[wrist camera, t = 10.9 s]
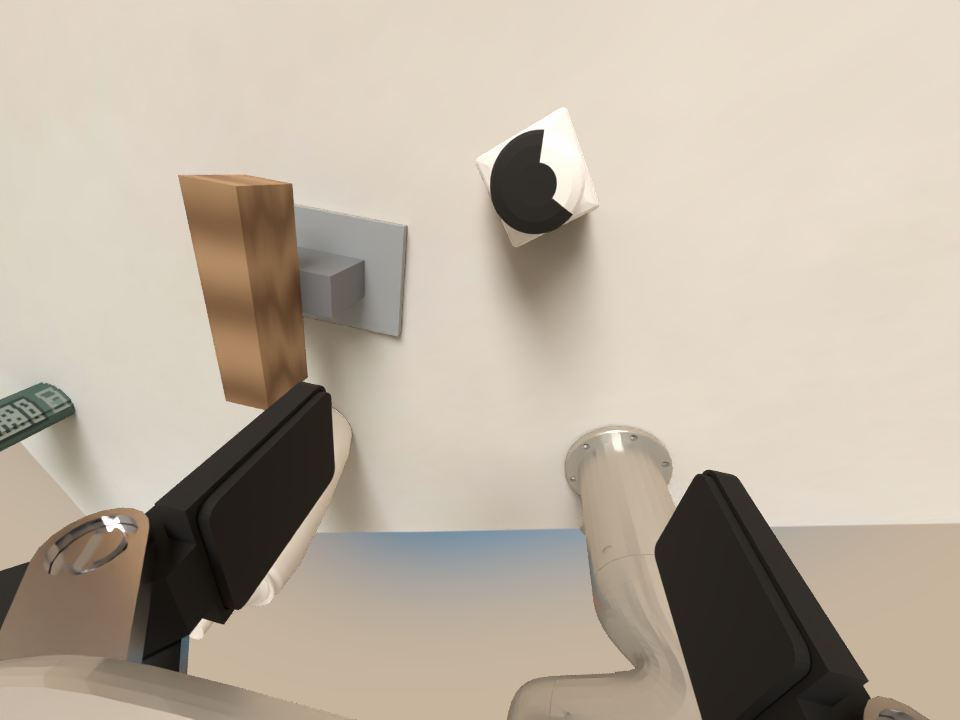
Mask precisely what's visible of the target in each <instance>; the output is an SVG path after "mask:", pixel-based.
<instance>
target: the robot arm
mask: <svg viewBox="0 0 960 720" xmlns="http://www.w3.org/2000/svg"><path fill="white" fill-rule="evenodd" d="M565 469H566V477H567V480H568V482H569V484H570V486H571V487H572V489H573V490H574V491H575V492H576V493H577V494H578V495H579V496H581V500H582V508H583V516H584V519H583V521H582V523H581V526H580V530H581V531H582V533H583V534H585V535H586V542H587V549H588V558H589V567H590V575H591V583H592V592H593V601H594V605H595V610H596V613H597V616H598V619H599V621H600V623H601V624H602V627H603V629H604V630H605V632H606V634H607V635H608V637H609V638H610V639H611V641H612V642H613V643H614V644H615V646H616V647H617V648H618V649H619V650H620V652H622V654H623V655H624V656H625V657H626V658H627V659H628V660H629V661H630V662H631V663H632V665H633V666H634V667H635V669H633V670H630V671H622V672H615V673H611V674H590V675H567V676H549V677H542V678H537V679H533V680H531V681H529V682H527V683H525V684H524V685H523V686H521V687H520V689H519V690H518V691H517V692H516V694H515V696H514V698H513V700H512V702H511V705H510V709H509V712H508V718H507V720H929V719H928V718H926V717H925V716H923V715H922V714H920V713H919V712H917V711H915V710H914V709H912V708H911V707H909V706H907V705H905V704H903V703H901V702H898V701H896V700H894V699H892V698H886V697H879V696H877V697H875V698H872V699H871V698H870V696H869V695H868V693H867V691H866V690H865V688H864V687H863V685H864V684H865V683H867V682H868V679H867V678H866V676H865V674H864V673H863V671H862V670H861V669H860V667H859V665H858V664H857V662H856V660H855V659H854V658H853V656H852V654H851V653H850V651H849V650H848V648H847V646H846V645H845V643H844V642H843V640H842V639H841V637H840V636H839V634H838V632H837V631H836V630H835V628H834V626H833V625H832V623H831V622H830V620H829V618H828V617H827V615H826V614H825V612H824V611H823V609H822V608H821V606H820V604H819V603H818V601H817V600H816V598H815V597H814V595H813V594H812V592H811V591H810V589H809V587H808V586H807V585H806V583H805V581H804V580H803V578H802V577H801V575H800V573H799V572H798V570H797V569H796V567H795V566H794V564H793V563H792V561H791V559H790V558H789V557H788V555H787V553H786V552H785V550H784V549H783V547H782V545H781V544H780V543H779V541H778V539H777V538H776V536H775V535H774V533H773V532H772V530H771V528H770V527H769V525H768V524H767V522H766V521H765V519H764V518H763V516H762V514H761V513H760V511H759V510H758V508H757V507H756V505H755V504H754V502H753V500H752V499H751V497H750V496H749V494H748V493H747V491H746V490H745V488H744V486H743V485H742V483H741V482H740V480H739V479H738V478H737V477H736V476H734V475H731V474H727V473H722V472H718V471H713V470H706V471H704V472H703V473H702V474H697V475H696V476H695V477H694V479H693V480H692V482H691V484H690V486H689V487H688V489H687V491H686V493H685V494H684V496H683V498H682V499H681V501H680V503H679V505H678V506H677V508H675V505H674V503H673V500H672V498H671V495H670V493H669V490H668V488H667V485H668V483H669V481H670V479H671V476H672V470H673V467H672V460H671V458H670V456H669V453H668V451H667V450H666V448H665V446H664V445H663V444H662V443H661V442H660V441H659V440H658V439H657V438H656V437H654V436H653V435H651V434H649V433H647V432H645V431H643V430H640V429H636V428H632V427H622V426H618V427H607V428H602V429H598V430H596V431H593V432H590V433H588V434H587V435H585V436H583V437H582V438H580V439H579V440H578V441H577V442H576V443H575V444H574V445H573V446H572V447H571V449H570V451H569V453H568V455H567V458H566V462H565ZM334 473H335V458H334V440H333V421H332V403H331V395H330V394H329V393H326V390H325V388H324V387H323V386H320V385H315V384H311V383H306V382H299V383H297V384H296V385H295V386H294V387H292V388H291V389H290V390H289V391H288V392H287V393H285V394H284V395H283V396H282V397H281V398H279V399H278V400H277V401H276V402H275V403H273V404H272V405H271V406H270V407H269V408H268V409H266V410H265V411H264V412H263V413H262V414H260V415H259V416H258V417H257V418H256V419H254V420H253V421H252V422H251V423H250V424H249V425H247V426H246V427H245V428H244V429H243V430H241V431H240V432H239V433H238V434H237V435H236V436H234V437H233V438H232V439H231V440H230V441H228V442H227V443H226V444H225V445H224V446H222V447H221V448H220V449H219V450H218V451H217V452H215V453H214V454H213V455H212V456H211V457H209V458H208V459H207V460H206V461H205V462H203V463H202V464H201V465H200V466H199V467H198V468H196V469H195V470H194V471H193V472H192V473H190V474H189V475H188V476H187V477H186V478H184V479H183V480H182V481H181V482H180V483H179V484H177V485H176V486H175V487H174V488H173V489H171V490H170V491H169V492H168V493H167V494H166V495H164V496H163V497H162V498H161V499H160V500H158V501H157V502H156V503H155V506H154V507H152V508H151V509H150V510H149V511H148V512H147V513H145V514H144V513H143V512H142V511H139V510H136V509H133V508H116V509H110V510H104V511H100V512H97V513H94V514H91V515H88V516H85V517H83V518H81V519H79V520H77V521H75V522H73V523H71V524H69V525H67V526H66V527H64V528H63V529H61V530H60V531H58V532H57V533H55V534H54V535H52V536H51V537H50V538H49V539H48V540H47V541H46V542H45V543H44V544H43V545H42V546H41V547H39V549H38V550H37V552H36V553H35V555H34V556H33V558H32V559H31V561H30V562H27V563H24V564H21V565H18V566H15V567H12V568H8V569H5V570H2V571H0V720H355V719H351V718H348V717H344V716H341V715H337V714H333V713H330V712H326V711H323V710H319V709H315V708H311V707H308V706H304V705H301V704H297V703H293V702H290V701H286V700H282V699H279V698H275V697H271V696H268V695H264V694H261V693H257V692H254V691H250V690H246V689H243V688H239V687H235V686H231V685H227V684H223V683H218V682H215V681H211V680H207V679H203V678H199V677H195V676H191V675H187V667H188V651H189V635H190V634H191V633H192V631H193V630H194V629H195V627H196V626H197V625H198V624H199V622H200V621H201V620H202V619H205V620H209V621H213V622H216V623H220V624H225V622H226V621H227V619H228V618H229V617H230V615H231V614H232V612H233V611H234V610H239V609H241V608H242V607H243V606H245V604H246V603H247V602H248V601H249V599H250V598H251V596H252V595H253V593H254V592H255V591H256V589H257V588H258V586H259V585H260V583H261V582H262V580H263V579H264V578H265V576H266V575H267V573H268V572H269V570H270V569H271V568H272V566H273V565H274V563H275V562H276V560H277V559H278V557H279V556H280V555H281V553H282V552H283V550H284V549H285V547H286V546H287V544H288V543H289V542H290V540H291V539H292V537H293V536H294V534H295V533H296V532H297V530H298V529H299V527H300V526H301V524H302V523H303V521H304V520H305V519H306V517H307V516H308V514H309V513H310V511H311V510H312V508H313V507H314V506H315V504H316V503H317V501H318V500H319V498H320V497H321V496H322V494H323V493H324V491H325V490H326V488H327V487H328V485H329V484H330V482H331V481H332V479H333V476H334Z"/></svg>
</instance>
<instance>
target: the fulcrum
mask: <svg viewBox="0 0 960 720" xmlns="http://www.w3.org/2000/svg"><path fill="white" fill-rule="evenodd" d="M294 213H295V225H296V238H297V250H298V263H299V275H300V288H301V300H302V313H303V317H307V318H312V319H317V320H321V321H326V322H331V323H336V324H340V325H345V326H350V327H354V328H359V329H364V330H369V331H373V332H378V333H383V334H387V335H392V336H397V337H398V336H399V335H400V334H401V324H402V307H403V289H404V272H405V255H406V238H407V226H406V225H400V224H395V223H390V222H385V221H380V220H374V219H369V218H364V217H359V216H354V215H348V214H343V213H338V212H333V211H328V210H322V209H317V208H312V207H307V206H302V205H296V204H294Z"/></svg>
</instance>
